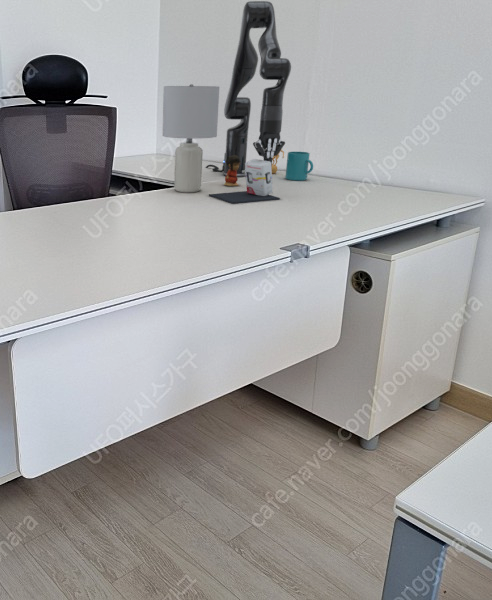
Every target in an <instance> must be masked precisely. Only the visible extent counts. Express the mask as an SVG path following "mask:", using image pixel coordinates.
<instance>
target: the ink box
mask: <svg viewBox="0 0 492 600" xmlns="http://www.w3.org/2000/svg"><path fill="white" fill-rule="evenodd" d="M245 170H246V172H245V183H246V185H245V186H246V191H247V193H249V194H255V195H260V196H266V195H271V194H272V193H273V174H272V169H271V162H270V161H264V159H258V158H252V159H251V160H249V161H246V163H245Z"/></svg>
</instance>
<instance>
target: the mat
mask: <svg viewBox="0 0 492 600" xmlns="http://www.w3.org/2000/svg"><path fill="white" fill-rule="evenodd" d="M208 197H211V198H214V199H217V200H221V201H224V202H225V203H229V204H231V205H232V204H233V205H235V204H247V203H257V202H269V201H277V200H280V199H281V197H278V196H274V195H271V194H268V195H266V196H260V195H255V194H249V193H247V190H244V191H243V190H242V191H232V192H221V193H209V194H208Z"/></svg>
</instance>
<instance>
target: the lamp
mask: <svg viewBox="0 0 492 600" xmlns="http://www.w3.org/2000/svg"><path fill="white" fill-rule="evenodd" d="M162 92H163V94H162V97H163V98H162V99H163V100H162V137H164V138H170V139H186V140H185V142H180V143H179V146H177V147H176V148H175V151H174V178H173V179H174V181H173V186H174V190H175V191H177V192H179V193H197V192H199V191H200V190H201V188H202V177H203V176H202V175H203V174H202V173H203V155H204V152H203V149H202V148H201V146H199V143H198V142H193V139H212V138H213V139H214V138H217V136H218V122H219V121H218V119H219V103H220V102H219V101H220V86H218V85H217V86H215V85H214V86H213V85H212V86H211V85H194V84H192V83H191V84H189V85H163V91H162Z"/></svg>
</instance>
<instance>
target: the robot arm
mask: <svg viewBox="0 0 492 600" xmlns="http://www.w3.org/2000/svg"><path fill="white" fill-rule="evenodd" d="M275 12H276V11H275V8H274V5H273V3H272V2H271V1H267V0H251V1H249V0H248V1H246V3H244V6H243V9H242V16H241V21H240V22H241V23H240V31H239V38H238V43H237V48H236V53H235V57H234V63H233V68H232V72H231V73H232V74H231V79H230V84H229V89H228V92H227V96H226V100H225V103H224V109H223V110H224V111H223V114H224V117H225V119H227V120H233V121H234V120H237V121H238V120H239V121H240V122H239V123H238V124H236V125H233V126H231V127H228V128H227V129H226V138H225V152H224V159H223V162H222V167H221V168H222V169H221V170H220V168H219V167H218V166H217V165H214V164H207V165H206V166H205V169H208V168H210V167H211V168H212V171H213V172H215V173H223V176H226V175H227V172H228V171H229V169H230V167H229V166H228V165H227V164H226V160H227V157H229V156H233V155H235V156H238V157H239V159H240V161H241V163H240V165H239V168H238V170H236V171H237V178H238V177H239V178H240V177H246V169H245V163H247V155H248V154H247V153H248V139H249V128H250V119H251V109H252V103H251V102H252V101H251V99H250V98H249V97H248V96H239V95H240V92H241V91H243V89H244V88H245V87H246V86H247V85H248V84H249V83H250V82H251V81H252V80H253V78H254V77H255V75H256V73H257V68H258V63H259V55H260V66H259V76H260V77H261V78H262V80H265V81H277V82H276V83H275V85H273V86H268V87H265V88H264V89H263V92H262V99H261V100H262V102H261V108H260V120H259V136H258V139H257V141H253V143H252V146H253V147H254V149H255V151H256V152H257V154H258V156H260V157H262V159H263V160H264V161H270V162H271V166H272V164H273V160H272V158H273V157H274V156H277V155H278V153H279V152H280V153H281V151H280V150H283V147H284V146H285V144H286V141H285V140H282V139H281V132H282V125H283V124H282V123H283V113H284V112H283V104H284V94H285V89H286V86H287V83H288V80H289V77H290V74H291V71H292V64H291V61H290V60H289V59H288V58H286V57H282V51H281V47H280V43H279V41H278V35H277V23H276V22H277V21H276V15H275V14H276V13H275ZM252 29H264V31H263V32H262V34H261V35H260V37H259V39H258V43H257V46H258V47H257V49H258V52H259V54H258V52H257V50H256V47H255V46H254V43H253V41H252V39H251V35H250V33H251V30H252ZM280 153H279V154H280Z"/></svg>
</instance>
